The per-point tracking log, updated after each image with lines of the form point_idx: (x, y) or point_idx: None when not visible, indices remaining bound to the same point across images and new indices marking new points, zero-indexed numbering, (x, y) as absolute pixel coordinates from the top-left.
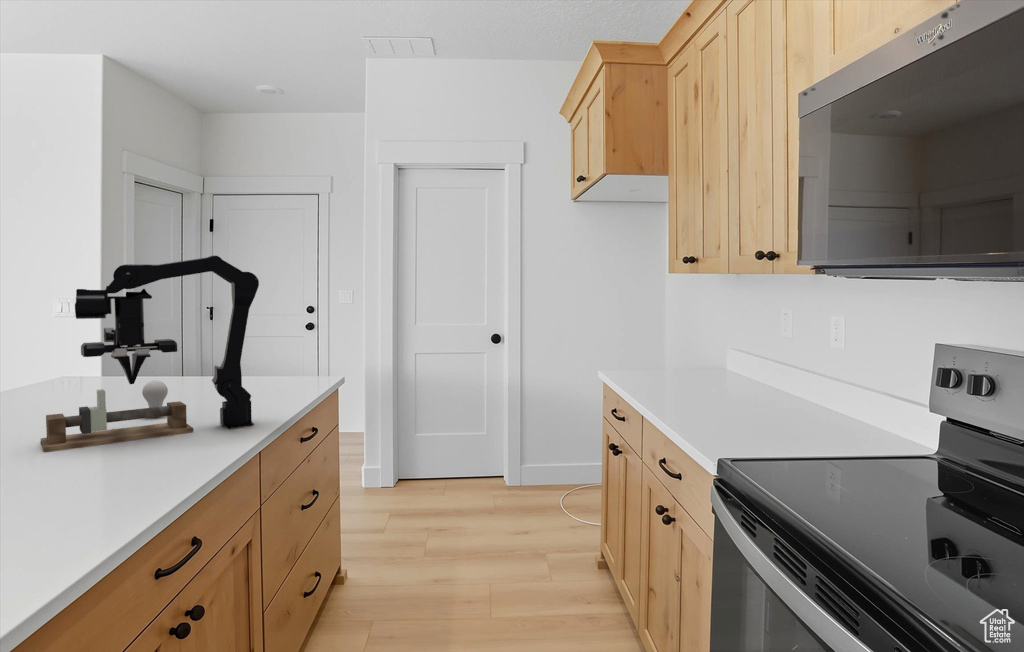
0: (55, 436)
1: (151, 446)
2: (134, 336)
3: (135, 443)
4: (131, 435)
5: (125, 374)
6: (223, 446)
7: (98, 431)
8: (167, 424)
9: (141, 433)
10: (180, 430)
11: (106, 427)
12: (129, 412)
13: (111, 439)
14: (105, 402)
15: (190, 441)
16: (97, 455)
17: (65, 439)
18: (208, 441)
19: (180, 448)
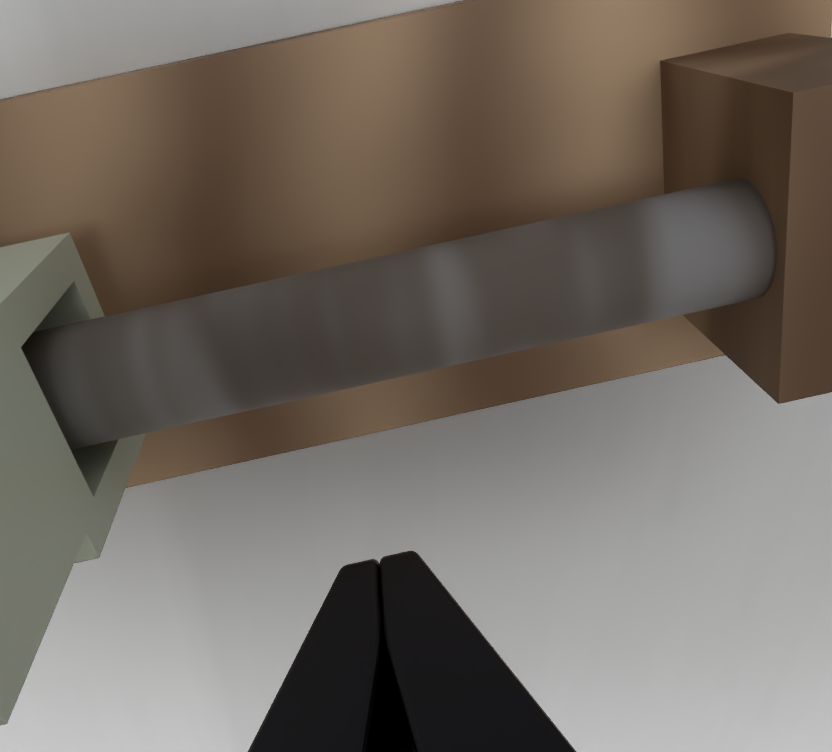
0: None
1: (476, 612)
2: None
3: (381, 511)
4: (349, 419)
5: (261, 734)
6: (810, 718)
7: (12, 114)
8: (660, 67)
9: (421, 377)
10: (707, 354)
11: (142, 435)
12: (331, 390)
13: (212, 463)
14: (61, 589)
15: (698, 574)
16: (193, 700)
17: None
18: (784, 607)
19: (616, 695)
